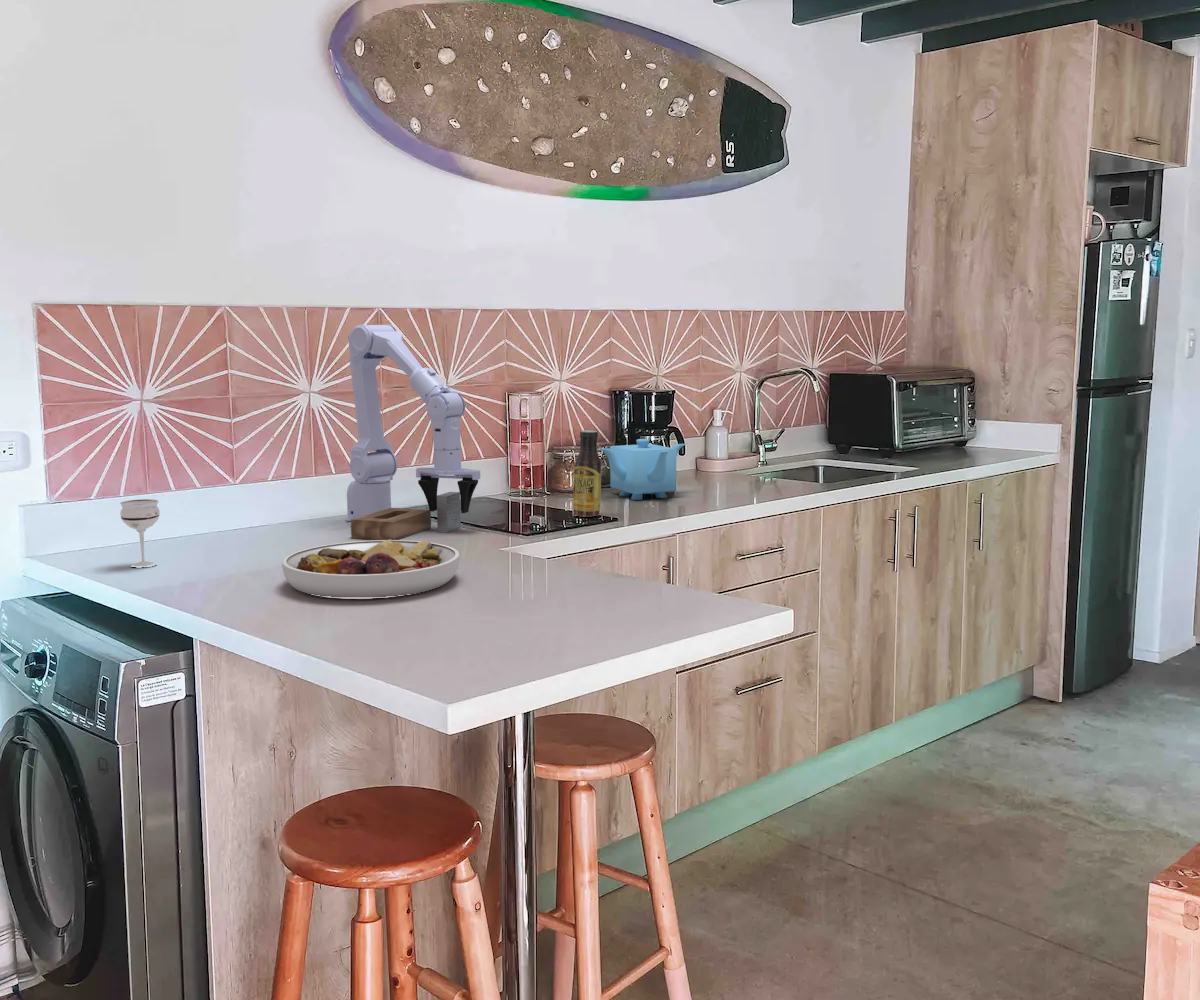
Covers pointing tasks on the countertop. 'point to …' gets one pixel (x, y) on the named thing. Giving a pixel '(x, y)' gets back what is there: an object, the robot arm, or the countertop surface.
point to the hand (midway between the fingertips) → (449, 511)
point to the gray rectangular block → (448, 512)
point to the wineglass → (140, 519)
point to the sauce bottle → (587, 477)
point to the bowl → (371, 568)
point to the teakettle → (642, 469)
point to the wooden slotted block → (390, 524)
